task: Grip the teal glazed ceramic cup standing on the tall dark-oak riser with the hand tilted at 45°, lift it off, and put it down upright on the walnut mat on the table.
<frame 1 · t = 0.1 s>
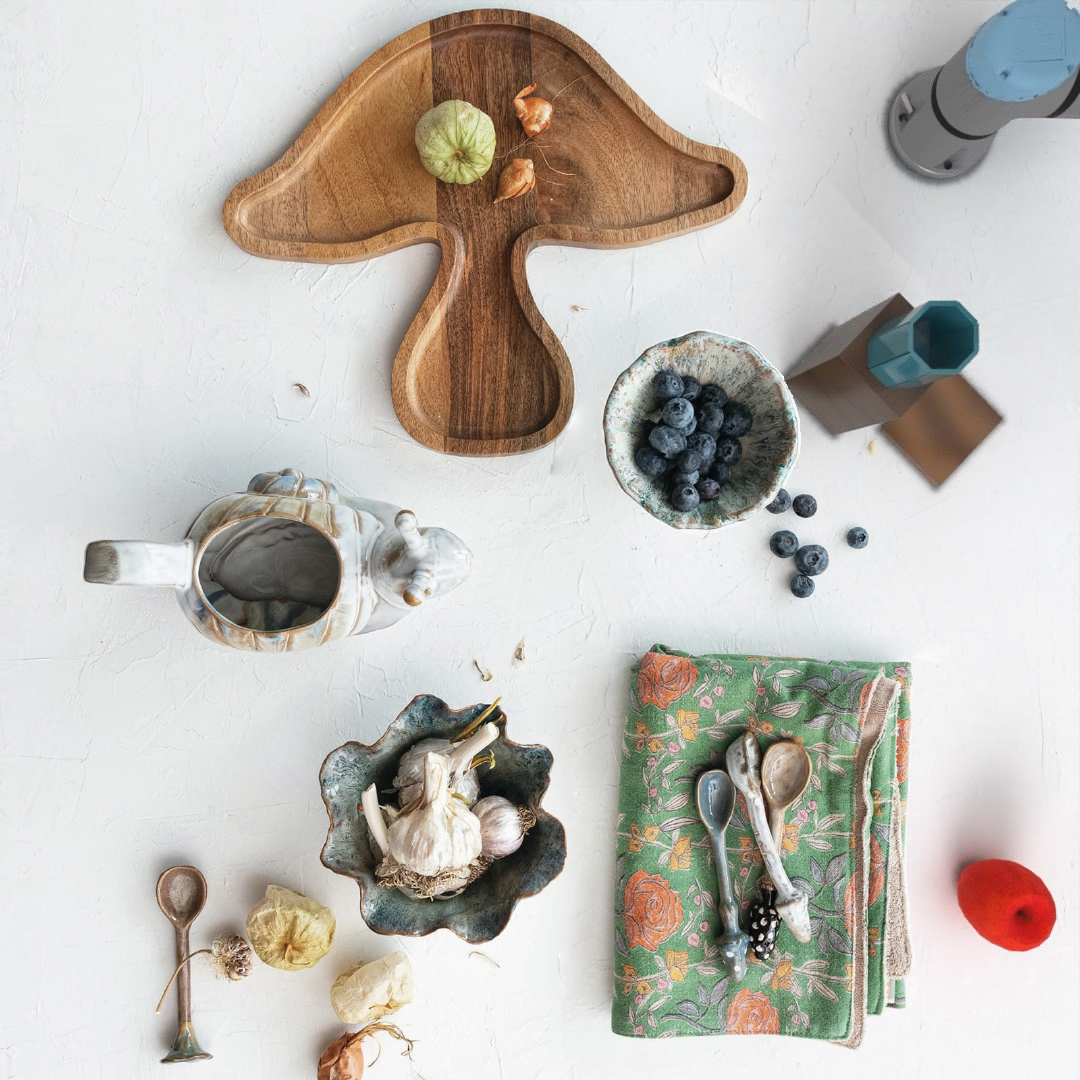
cup: (899, 355, 105), point 20 cm above the countertop, touching riser
riser: (832, 382, 125), on the countertop
mat: (939, 425, 126), on the countertop
apple: (974, 881, 128), on the countertop
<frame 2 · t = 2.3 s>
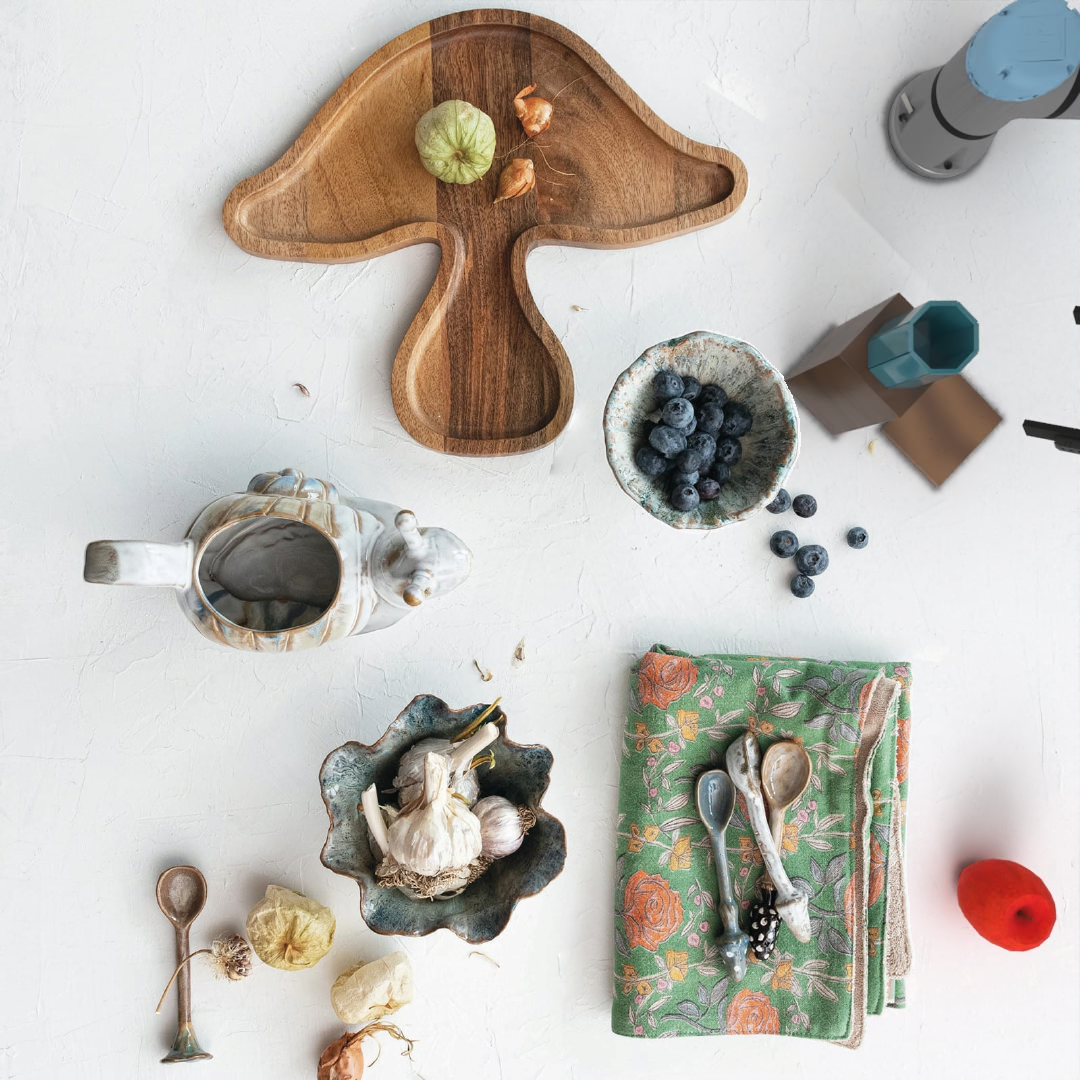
hand: (1050, 371, 92), 33 cm above the countertop, tool tilted 45°, fingers open, 13 cm apart
nothing on the countertop moved.
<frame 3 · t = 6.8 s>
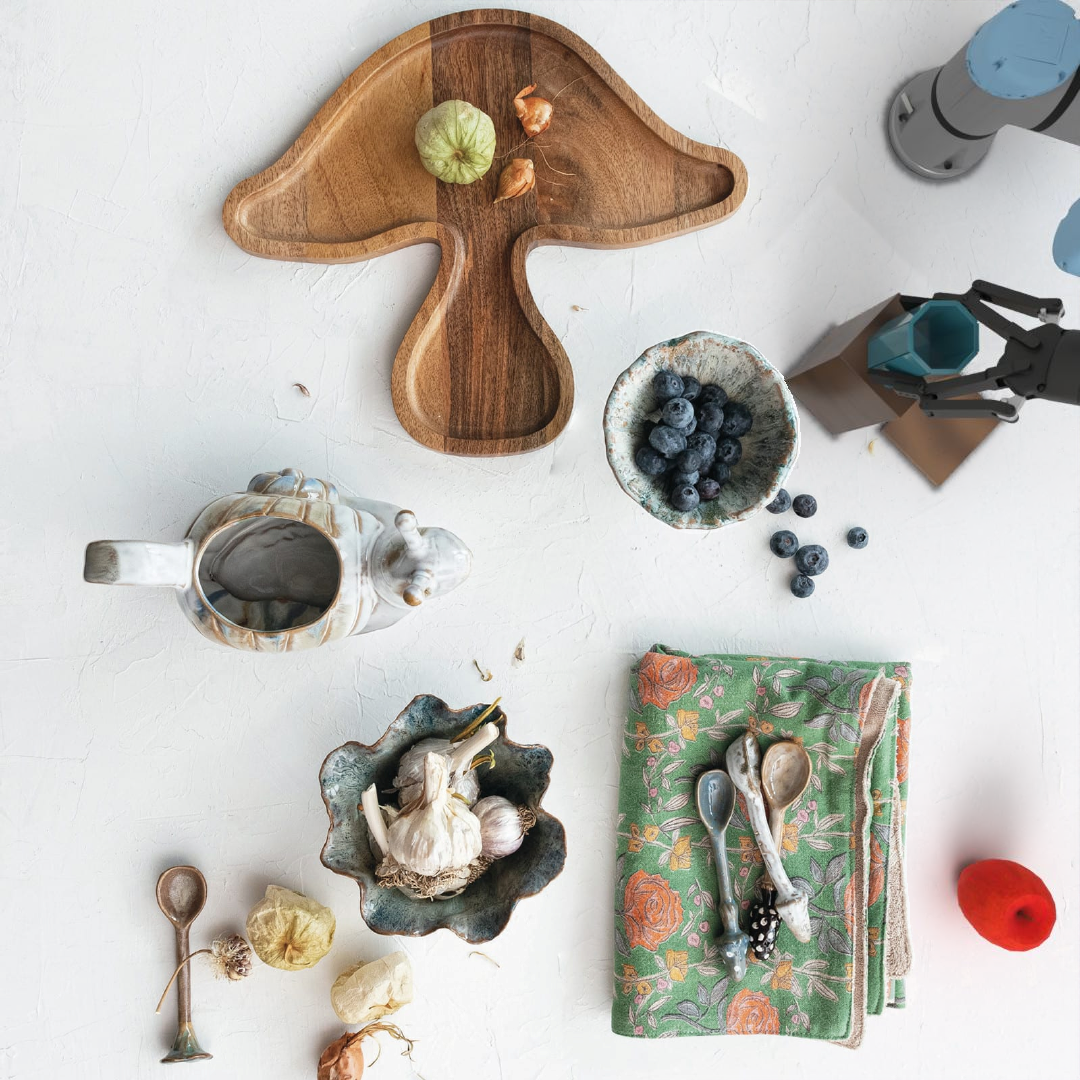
hand: (887, 339, 102), 23 cm above the countertop, tool tilted 45°, fingers closed on cup, 9 cm apart
cup: (899, 355, 105), point 20 cm above the countertop, touching gripper, riser
everything else where it was.
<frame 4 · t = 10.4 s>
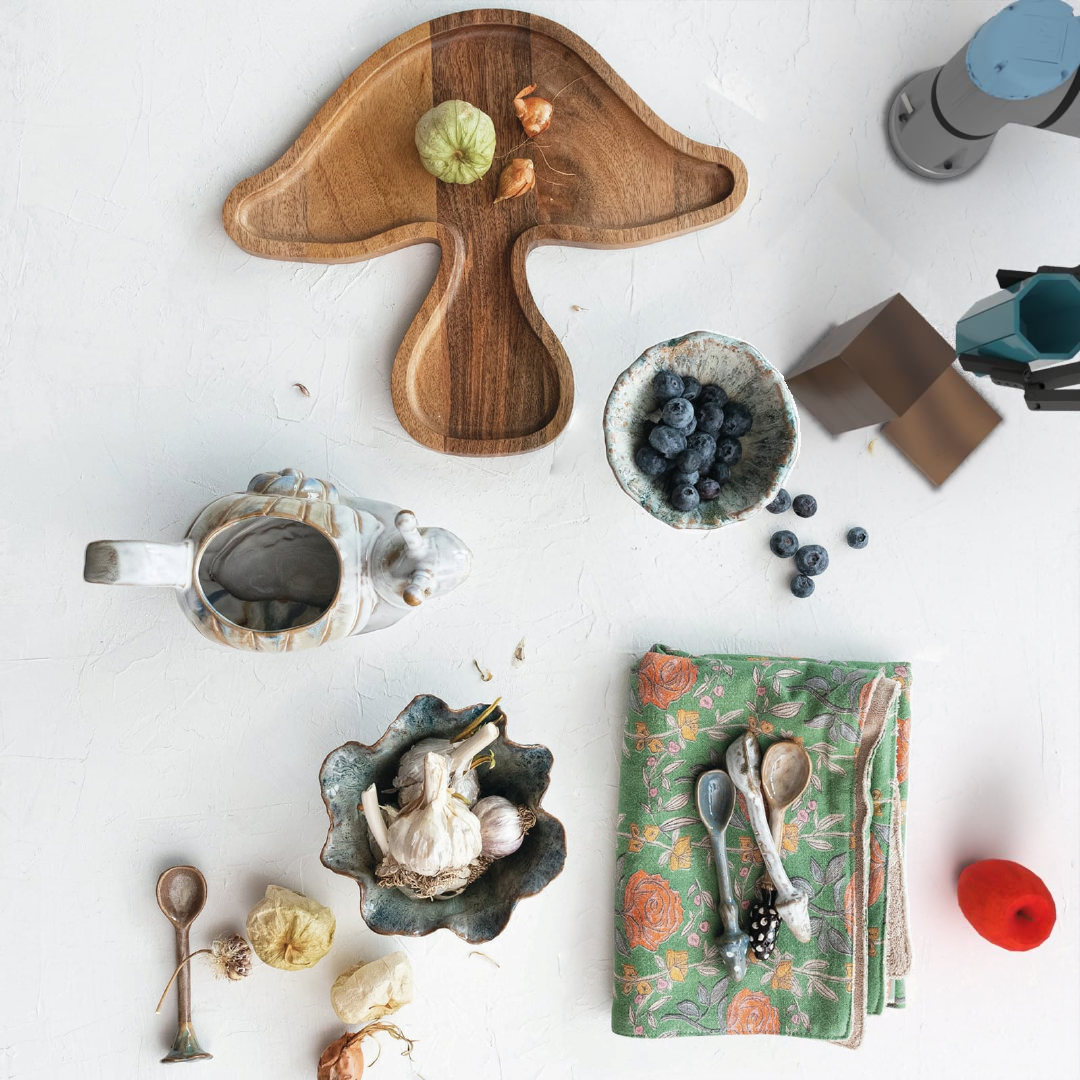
hand: (981, 320, 88), 37 cm above the countertop, tool tilted 45°, fingers closed on cup, 9 cm apart
cup: (992, 339, 91), point 34 cm above the countertop, touching gripper
everything else where it was.
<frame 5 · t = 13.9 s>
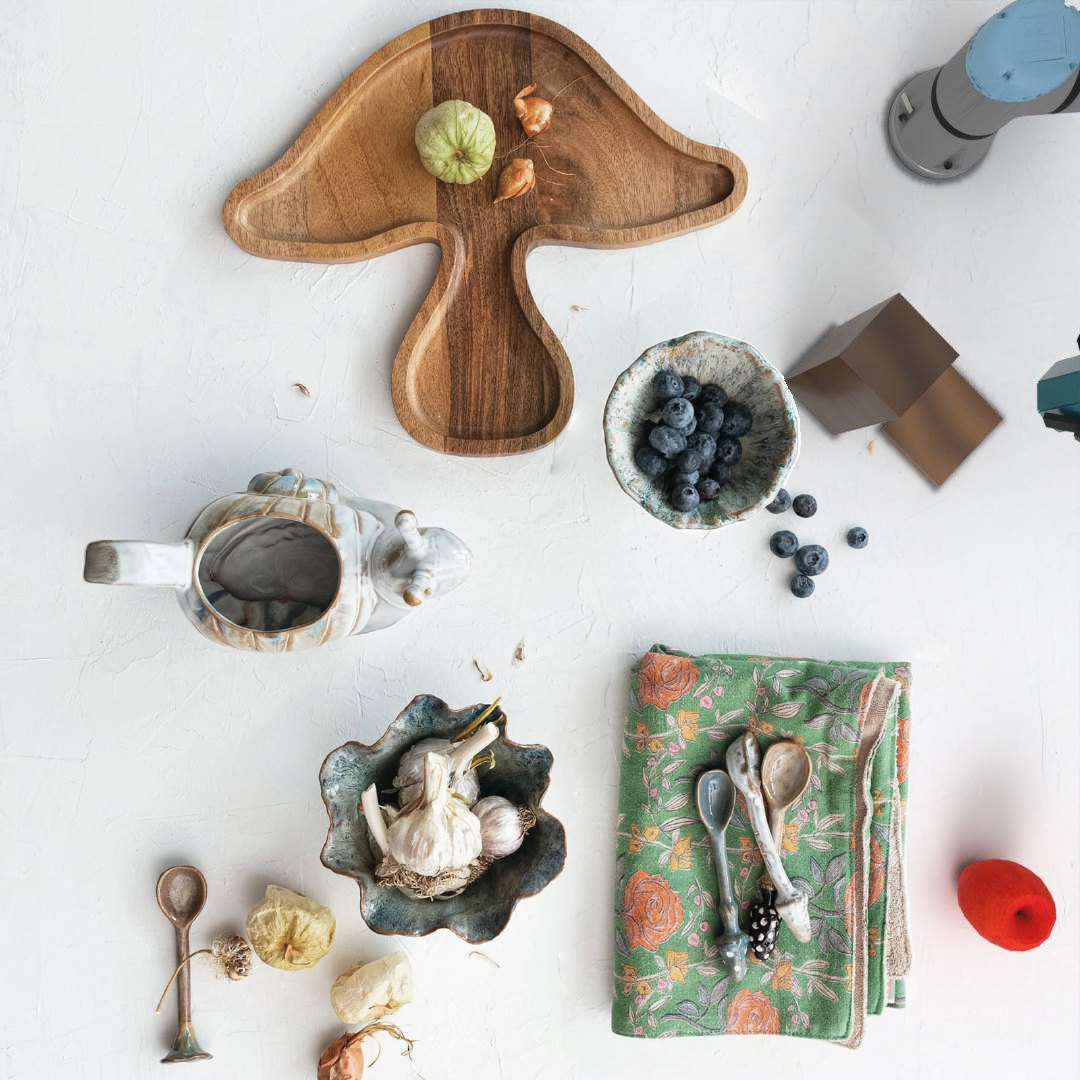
hand: (1062, 381, 95), 31 cm above the countertop, tool tilted 45°, fingers closed on cup, 9 cm apart
cup: (1070, 396, 98), point 28 cm above the countertop, touching gripper
everything else where it was.
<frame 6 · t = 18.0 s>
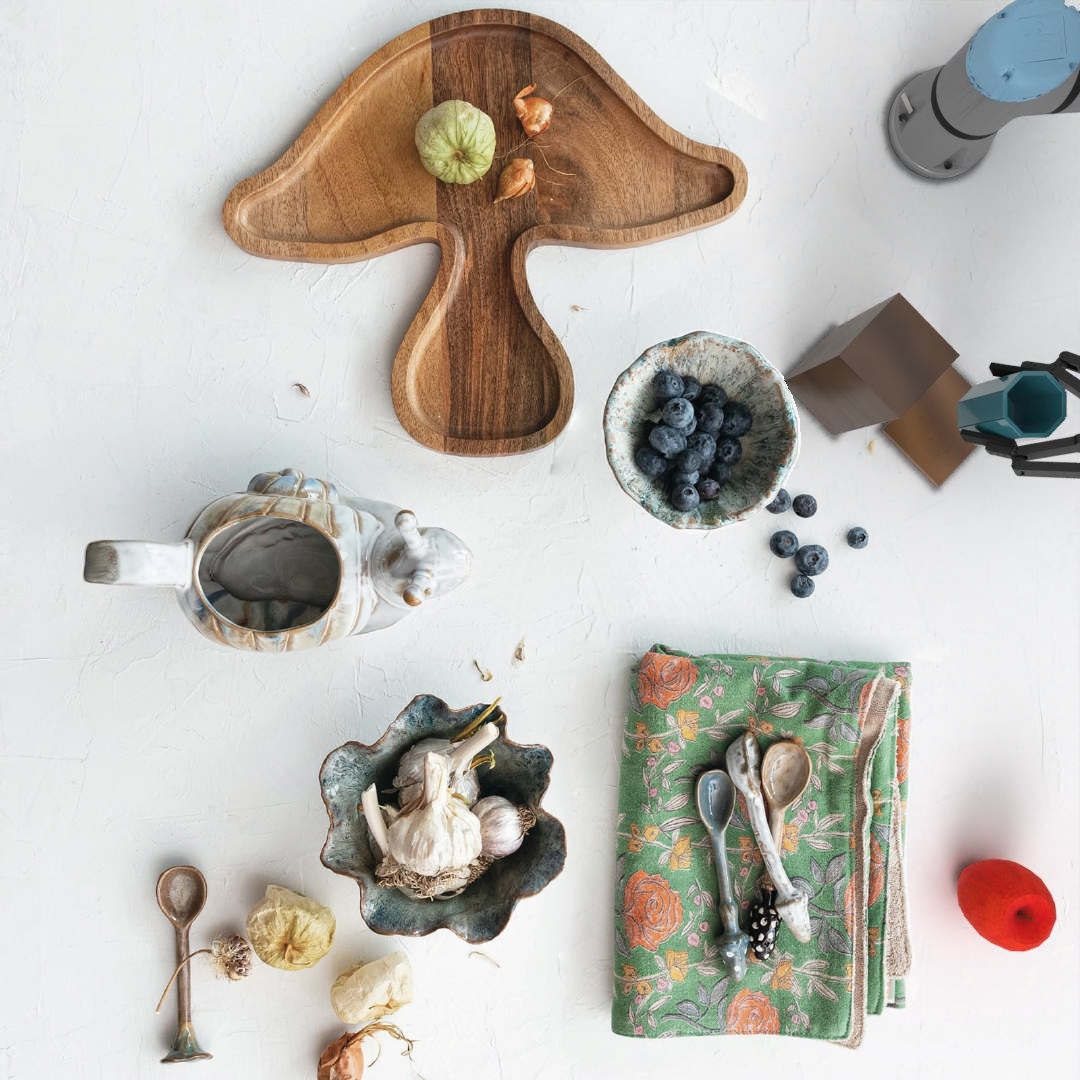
hand: (977, 402, 111), 14 cm above the countertop, tool tilted 45°, fingers closed on cup, 9 cm apart
cup: (986, 415, 114), point 12 cm above the countertop, touching gripper
everything else where it was.
when the fingers open (4 cm above the countertop, at t = 21.4 s): cup stays where it is, resting on mat.
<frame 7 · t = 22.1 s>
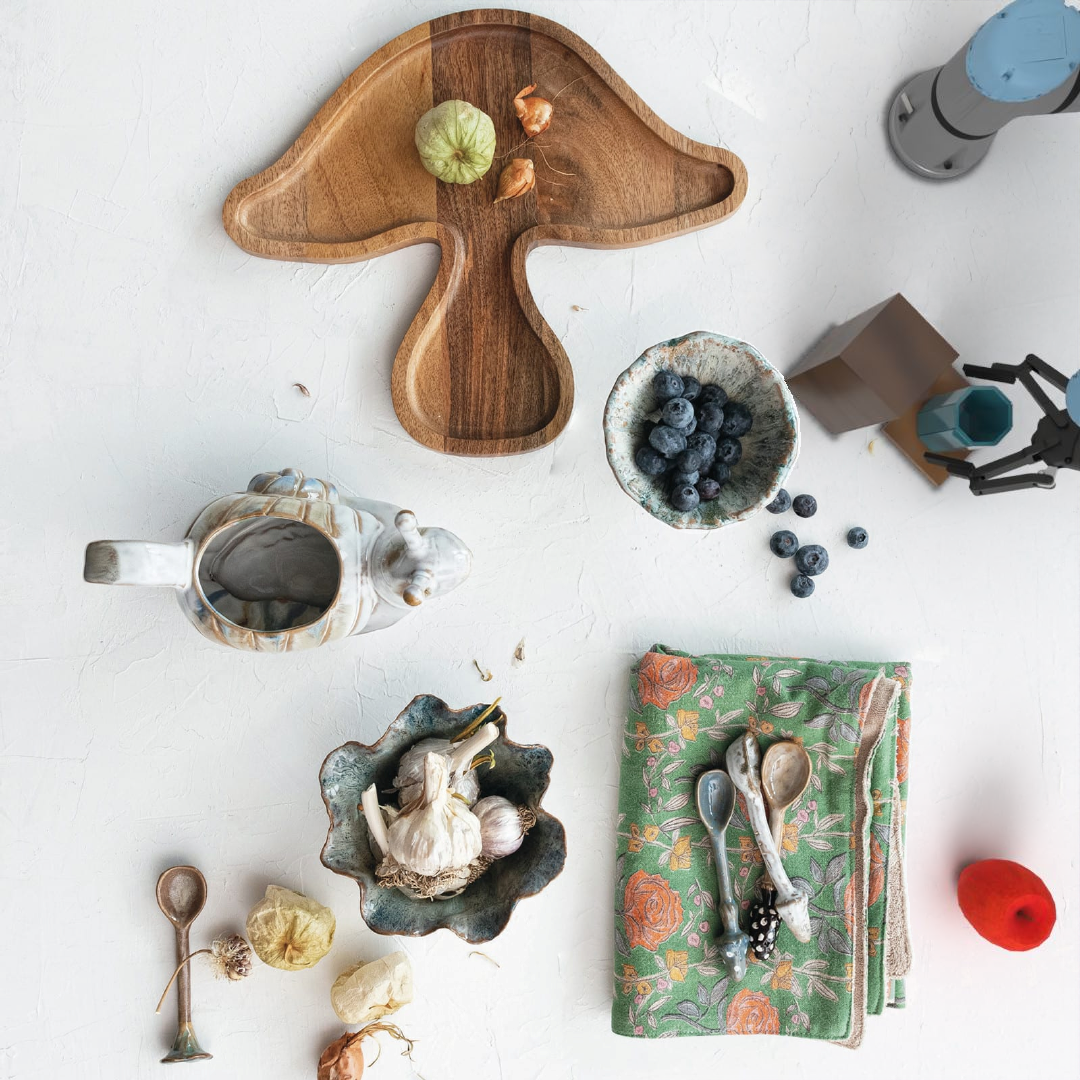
hand: (945, 413, 121), 5 cm above the countertop, tool tilted 45°, fingers open, 13 cm apart
cup: (943, 424, 125), point 1 cm above the countertop, touching mat
everything else where it was.
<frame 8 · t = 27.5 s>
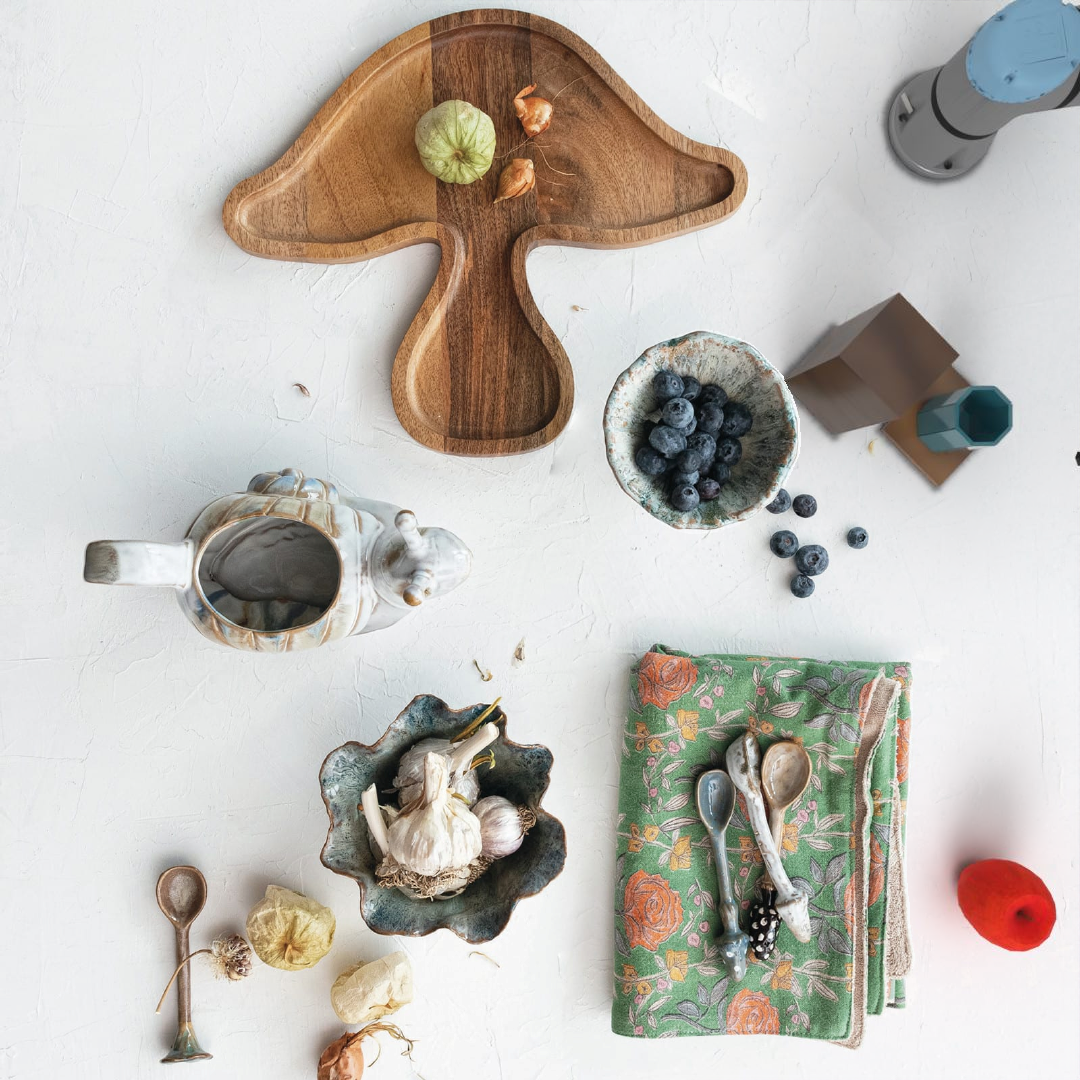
nothing on the countertop moved.
at the end: cup inside the target area on the mat (0.1 cm from its centre), point 1.0 cm above the mat's base; cup tilted 0°; the gripper is holding nothing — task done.
